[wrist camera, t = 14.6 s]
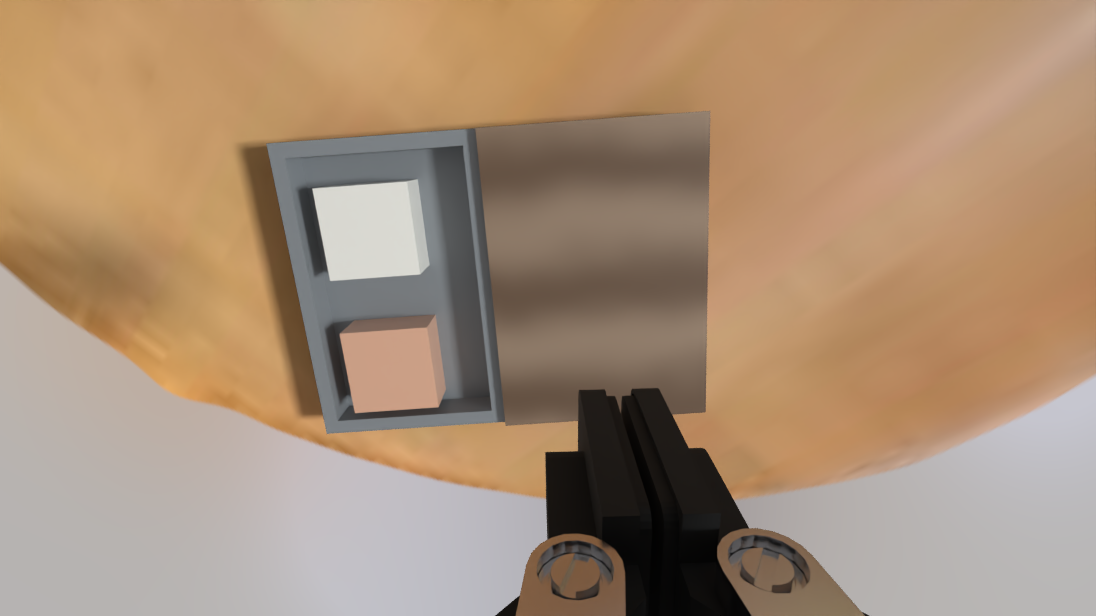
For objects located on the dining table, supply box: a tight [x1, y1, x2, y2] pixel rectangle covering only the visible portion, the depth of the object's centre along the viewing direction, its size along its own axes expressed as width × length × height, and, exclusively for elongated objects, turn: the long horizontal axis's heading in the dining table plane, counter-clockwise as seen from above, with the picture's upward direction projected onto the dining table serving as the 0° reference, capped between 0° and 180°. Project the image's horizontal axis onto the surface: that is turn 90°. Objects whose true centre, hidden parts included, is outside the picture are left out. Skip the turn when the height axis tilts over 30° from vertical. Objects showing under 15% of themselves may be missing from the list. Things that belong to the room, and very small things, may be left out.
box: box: [267, 129, 505, 434], centre depth 31 cm, size 17×11×2 cm, turn 4°
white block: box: [312, 179, 429, 281], centre depth 30 cm, size 5×5×2 cm
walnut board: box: [475, 111, 710, 426], centre depth 31 cm, size 17×12×3 cm
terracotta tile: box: [340, 315, 446, 413], centre depth 32 cm, size 5×5×2 cm
